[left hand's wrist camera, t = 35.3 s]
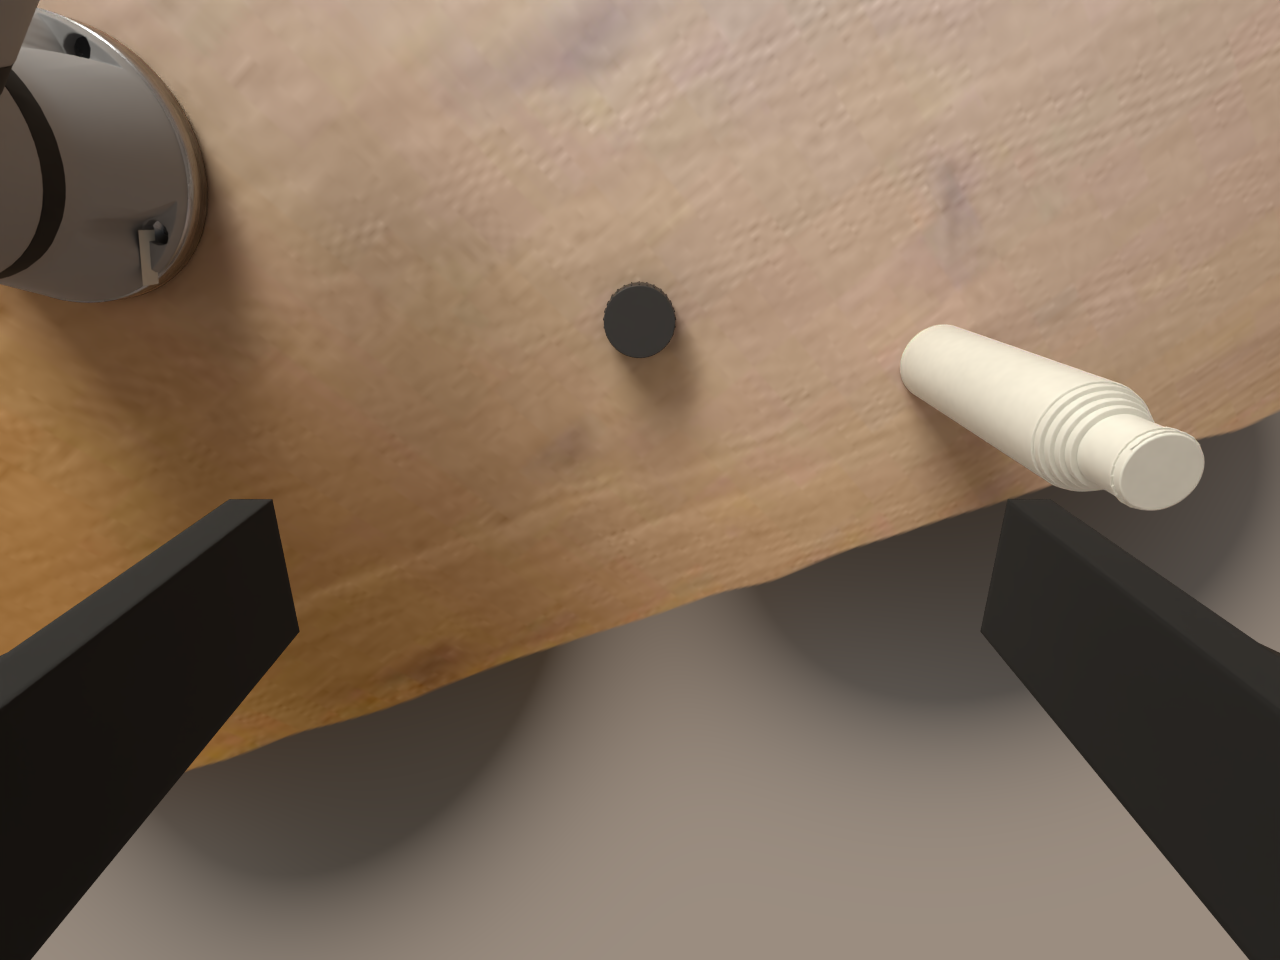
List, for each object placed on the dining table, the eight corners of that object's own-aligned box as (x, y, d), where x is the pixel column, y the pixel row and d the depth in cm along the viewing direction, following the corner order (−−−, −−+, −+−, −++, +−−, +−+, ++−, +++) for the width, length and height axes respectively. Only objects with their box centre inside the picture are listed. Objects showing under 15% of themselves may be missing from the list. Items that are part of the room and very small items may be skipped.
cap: (611, 274, 43) (610, 277, 41) (681, 289, 43) (683, 293, 41) (598, 344, 45) (596, 350, 43) (666, 358, 45) (667, 365, 43)
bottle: (991, 360, 45) (1257, 470, 26) (931, 414, 46) (1141, 557, 27) (944, 307, 44) (1185, 380, 24) (884, 364, 45) (1067, 476, 26)
